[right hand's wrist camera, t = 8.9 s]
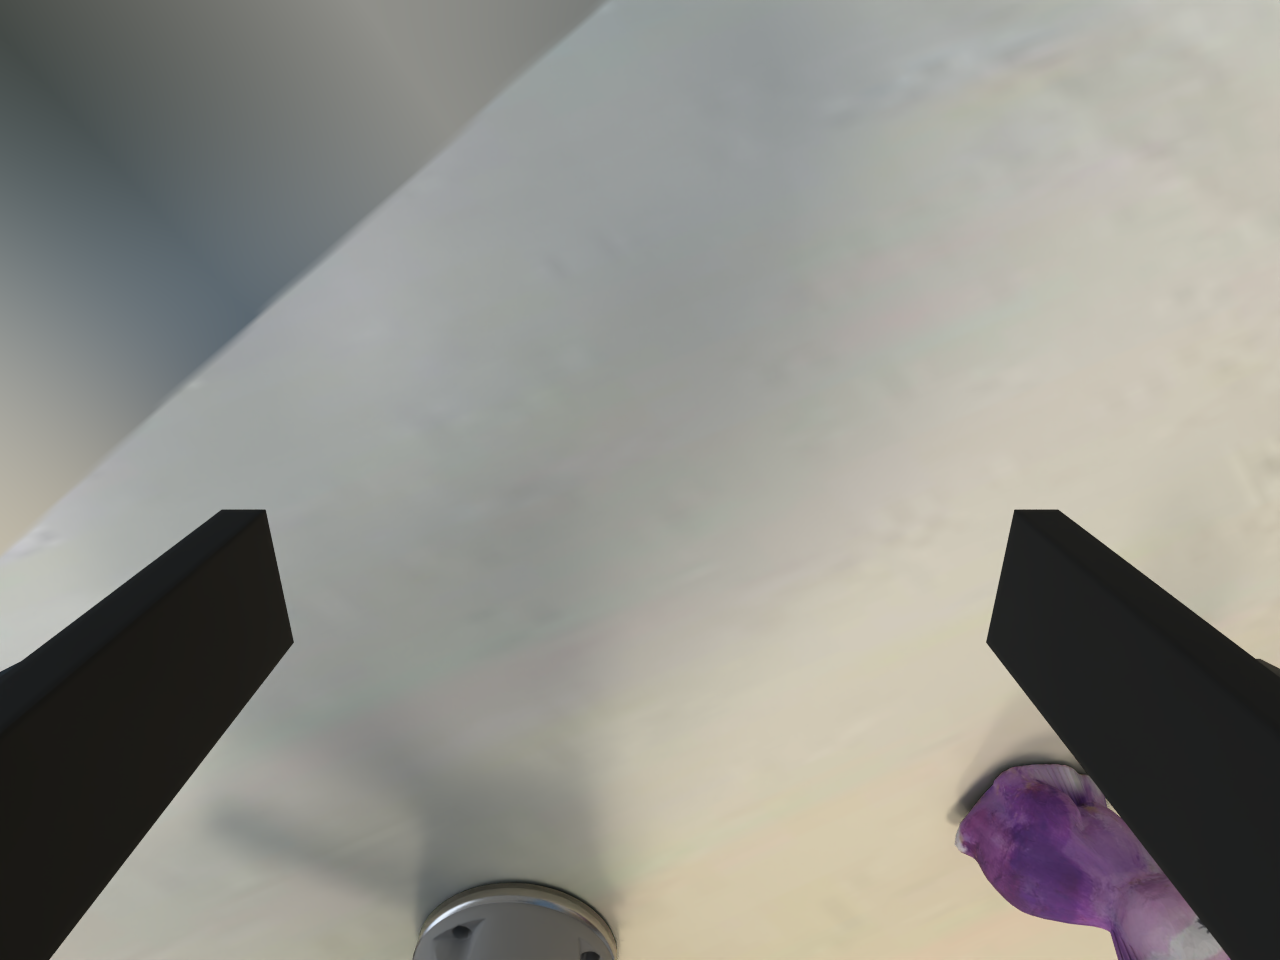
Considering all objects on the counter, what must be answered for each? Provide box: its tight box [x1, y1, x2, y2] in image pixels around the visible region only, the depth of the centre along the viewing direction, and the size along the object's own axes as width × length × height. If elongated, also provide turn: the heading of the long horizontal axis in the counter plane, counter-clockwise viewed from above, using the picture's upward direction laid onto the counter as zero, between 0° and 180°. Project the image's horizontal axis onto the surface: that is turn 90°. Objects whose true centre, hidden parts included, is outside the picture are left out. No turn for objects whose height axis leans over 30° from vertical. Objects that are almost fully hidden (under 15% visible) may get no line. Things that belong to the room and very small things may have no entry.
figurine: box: [955, 764, 1231, 960], centre depth 42 cm, size 9×10×15 cm
